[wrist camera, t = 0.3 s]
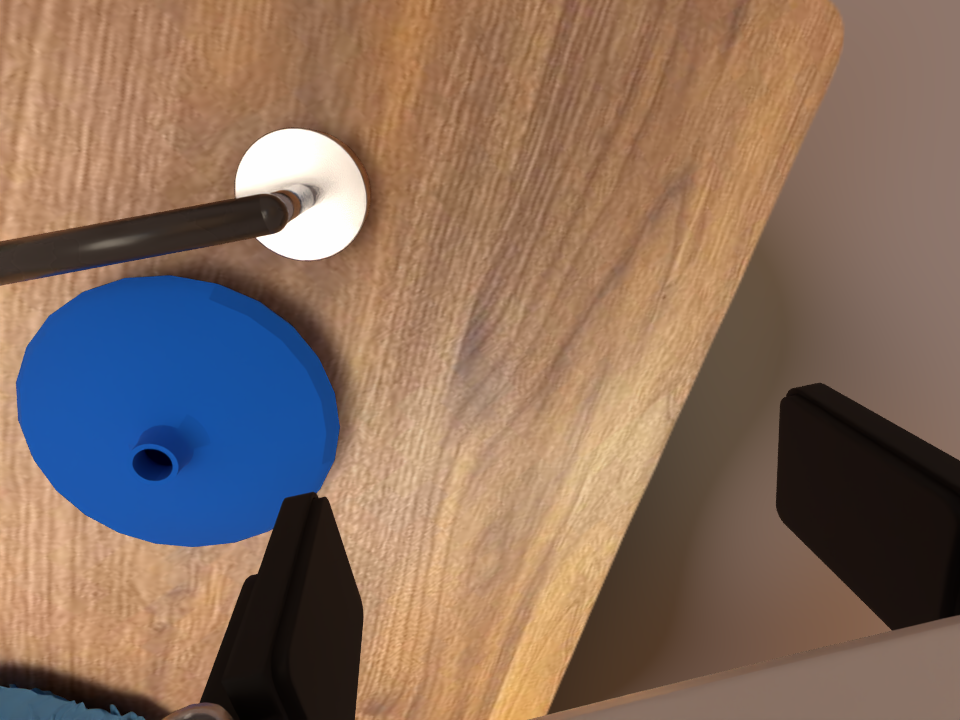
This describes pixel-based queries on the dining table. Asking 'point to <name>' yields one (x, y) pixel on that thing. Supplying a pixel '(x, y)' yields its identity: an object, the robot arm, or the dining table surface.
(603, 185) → the dining table surface
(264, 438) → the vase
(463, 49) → the dining table surface
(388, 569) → the dining table surface
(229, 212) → the ladle
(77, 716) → the decorative plate
